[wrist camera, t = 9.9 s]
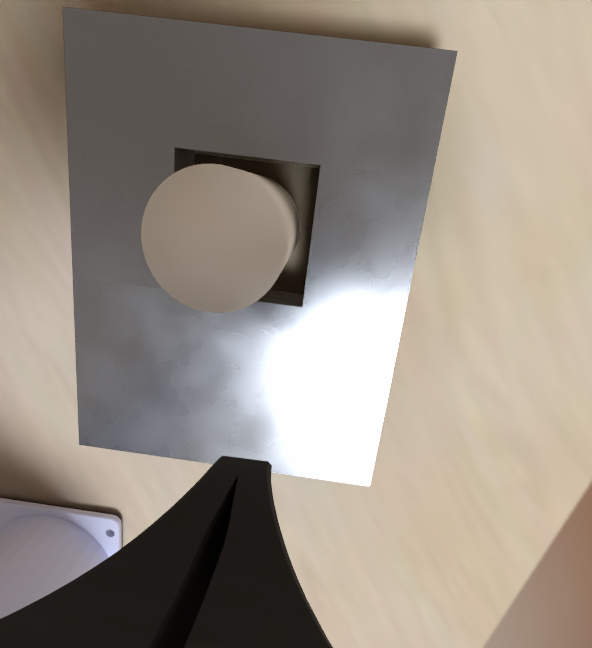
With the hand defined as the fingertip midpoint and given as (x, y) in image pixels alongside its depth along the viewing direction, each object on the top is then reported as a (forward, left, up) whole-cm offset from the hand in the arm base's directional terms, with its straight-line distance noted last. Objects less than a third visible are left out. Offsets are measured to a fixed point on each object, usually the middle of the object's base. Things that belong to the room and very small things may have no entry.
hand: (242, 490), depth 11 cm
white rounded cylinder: (+6, +2, -10) cm, 12 cm away
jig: (+4, +2, -10) cm, 11 cm away
